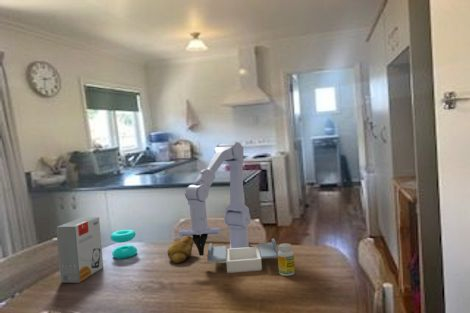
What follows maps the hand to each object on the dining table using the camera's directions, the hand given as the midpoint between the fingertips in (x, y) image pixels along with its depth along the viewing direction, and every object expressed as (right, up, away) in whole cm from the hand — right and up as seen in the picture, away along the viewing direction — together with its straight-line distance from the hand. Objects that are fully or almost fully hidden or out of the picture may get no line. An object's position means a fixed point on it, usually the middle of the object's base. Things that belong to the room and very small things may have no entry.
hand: (201, 254), depth 135 cm
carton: (+15, -4, 0) cm, 16 cm away
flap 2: (+24, +1, 0) cm, 24 cm away
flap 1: (+6, 0, 0) cm, 6 cm away
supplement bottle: (+29, -4, -10) cm, 31 cm away
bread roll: (-10, -5, +12) cm, 16 cm away
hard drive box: (-44, -8, +2) cm, 44 cm away
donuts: (-34, -6, +21) cm, 40 cm away
